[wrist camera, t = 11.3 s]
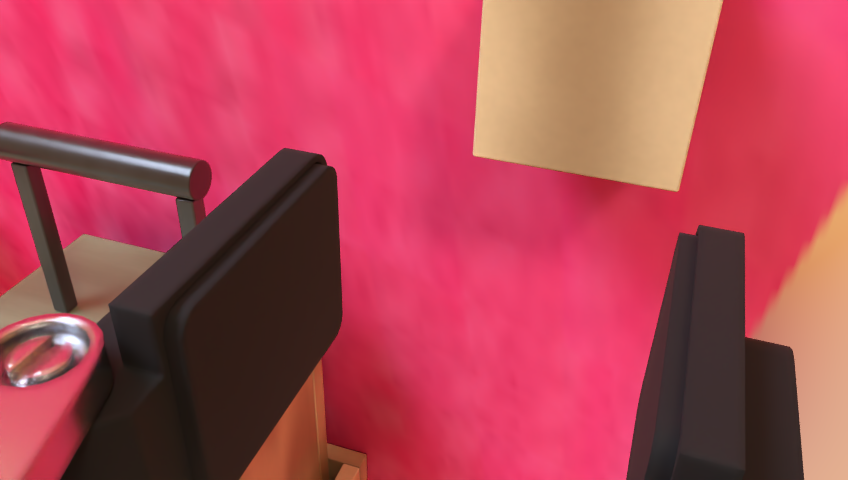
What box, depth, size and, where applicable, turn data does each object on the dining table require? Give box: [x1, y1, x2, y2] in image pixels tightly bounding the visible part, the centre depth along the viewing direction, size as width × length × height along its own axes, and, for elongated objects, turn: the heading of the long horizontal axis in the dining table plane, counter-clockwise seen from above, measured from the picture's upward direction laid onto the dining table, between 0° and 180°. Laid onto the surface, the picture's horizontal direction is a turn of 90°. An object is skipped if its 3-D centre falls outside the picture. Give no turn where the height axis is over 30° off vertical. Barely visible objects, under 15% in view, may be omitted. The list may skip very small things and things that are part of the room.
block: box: [473, 0, 723, 192], centre depth 19 cm, size 5×5×5 cm
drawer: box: [0, 122, 329, 480], centre depth 30 cm, size 21×11×7 cm, turn 179°
